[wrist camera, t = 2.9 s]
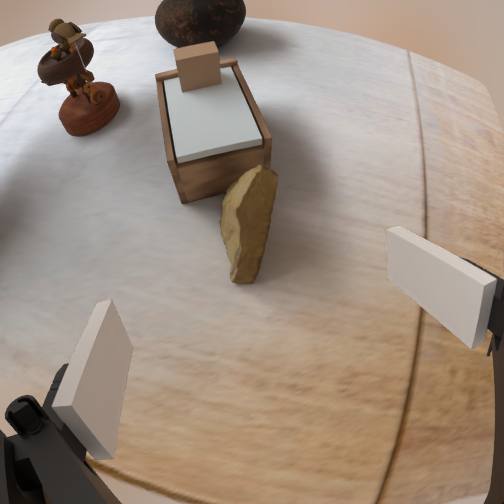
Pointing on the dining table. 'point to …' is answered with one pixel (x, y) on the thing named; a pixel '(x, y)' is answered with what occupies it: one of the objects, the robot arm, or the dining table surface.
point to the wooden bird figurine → (77, 81)
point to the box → (219, 165)
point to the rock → (248, 221)
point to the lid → (207, 106)
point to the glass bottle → (199, 21)
